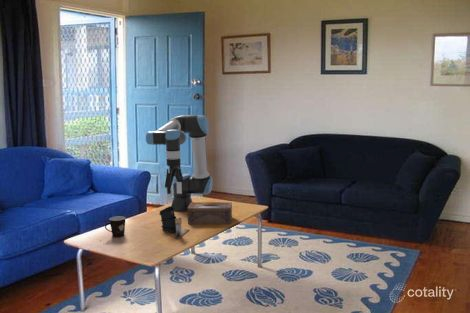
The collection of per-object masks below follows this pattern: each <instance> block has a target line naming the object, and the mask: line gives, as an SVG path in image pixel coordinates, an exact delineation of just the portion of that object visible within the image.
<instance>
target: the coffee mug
mask: <svg viewBox="0 0 470 313" xmlns="http://www.w3.org/2000/svg"><path fill="white" fill-rule="evenodd" d="M107 225H110V229H111V230H109V229H108V228H107ZM104 228H105V230H106V231H108V232H110V233H111V234H112V238H123V237H124V236H125V233H126V232H125V231H126V230H125V228H126V217H125V216H121V215H120V216H119V215H118V216H117V215H116V216H112V217H109V222H106V224H105V225H104Z"/></svg>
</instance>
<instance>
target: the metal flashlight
mask: <svg viewBox="0 0 470 313" xmlns="http://www.w3.org/2000/svg"><path fill="white" fill-rule="evenodd" d="M182 220H183V219H182V217H176V218H175V224H176V233H175V237H180V238H181V236H182V233H181V232H182V223H183V222H182ZM182 237H183V236H182Z"/></svg>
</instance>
